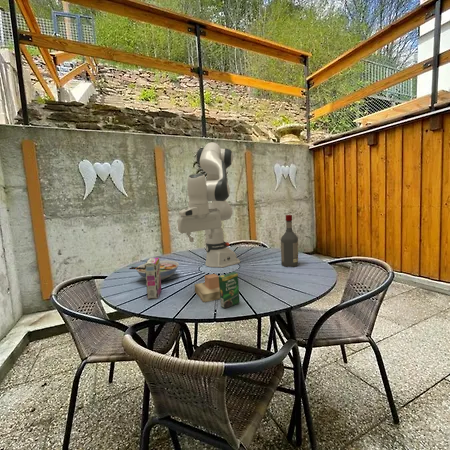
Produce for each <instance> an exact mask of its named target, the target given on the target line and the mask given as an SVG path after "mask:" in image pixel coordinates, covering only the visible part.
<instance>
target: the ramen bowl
mask: <svg viewBox="0 0 450 450" xmlns="http://www.w3.org/2000/svg"><path fill="white" fill-rule="evenodd" d="M159 263H160V276H161V281H164V280H166V279H167V278H170V277H171V276H173V275H174V274H175V273H176V271H177V269H178V267H179V265H180V264H179V262H178V261H176V260H175V261H174V260H168V259H167V260H159ZM128 269H129V270H136V271H137V273H138V274H139V275H140V276H141V277H142V278H144V279H146V274H145V263H142V264H140V265H138V266H131V267H129V268H128Z"/></svg>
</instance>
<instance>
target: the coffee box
mask: <svg viewBox="0 0 450 450" xmlns="http://www.w3.org/2000/svg"><path fill="white" fill-rule="evenodd" d="M218 276H219V289H220V299H219V300H220V307H221V308H222V309H224V310H225V309H228V308H231V307H234V306H237V305H239V304H240V302H241V301H240V300H241V299H240V287H239V286H240V285H239V274H238V272H236V271H232V272H229V273H225V274H221V275H218Z"/></svg>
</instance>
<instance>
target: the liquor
mask: <svg viewBox="0 0 450 450" xmlns="http://www.w3.org/2000/svg"><path fill="white" fill-rule="evenodd" d="M292 221H293V215H292V214H286V215H285V226H286V227H285V232H284V233H283V235H282V236H281V238H280V256H281V257H280V261H281V262H280V263H281V266H282V267H285V268H296V267H297V266H298V264H299V237H298V236H297V234H296V233H295V232H294V230H293V223H292Z"/></svg>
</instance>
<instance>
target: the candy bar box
mask: <svg viewBox="0 0 450 450" xmlns="http://www.w3.org/2000/svg"><path fill="white" fill-rule="evenodd" d="M159 261H160V257H151V258H150V257H149V258H148V260H147V261H146V262H145V263H144V264H145V274H146V278H145V284H146V297H147V300H156V299H159V296H160V294H161V292H162V280H161V276H160V263H159Z"/></svg>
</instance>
